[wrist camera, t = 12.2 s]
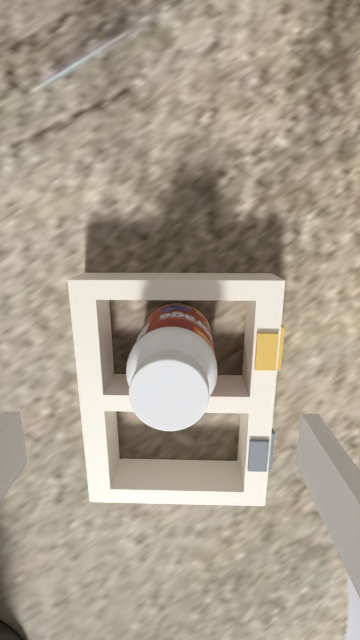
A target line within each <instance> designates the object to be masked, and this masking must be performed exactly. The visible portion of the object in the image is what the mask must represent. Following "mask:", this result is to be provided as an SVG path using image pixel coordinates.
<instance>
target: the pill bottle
mask: <svg viewBox="0 0 360 640" xmlns="http://www.w3.org/2000/svg"><path fill="white" fill-rule="evenodd" d="M126 377H127V382H128V385H129V400H130V404H131V407H132V409H133V411H134V413H135V414H136V415H137V417H138V418H139V419H140V420H141V421H143V422H144V423H145V424H147V425H148V426H150V427H153V428H155V429H158V430H163V431H178V430H182V429H185V428H187V427H190V426H191V425H193V424H194V423H196V422H197V421H198V420H199V419H200V418H201V417H202V416H203V414H204V413H205V411H206V409H207V406H208V402H209V397H210V395H211V394H212V392H213V390H214V388H215V385H216V381H217V362H216V356H215V351H214V346H213V339H212V333H211V329H210V326H209V323H208V321H207V320H206V318H205V317H204V315H203V314H202V313H201V312H199V311H198V310H197V309H195V308H193V307H191V306H189V305H186V304H179V303H175V304H168V305H164V306H162V307H160V308H158V309H157V310H155V311H154V312H153V313H152V314H151V315H150V316H149V317H148V319H147V320H146V322H145V324H144V326H143V328H142V330H141V332H140V334H139V336H138V338H137V340H136V342H135V344H134V346H133V348H132V350H131V352H130V355H129V357H128V360H127V365H126Z"/></svg>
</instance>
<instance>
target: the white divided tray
mask: <svg viewBox="0 0 360 640" xmlns="http://www.w3.org/2000/svg"><path fill="white" fill-rule="evenodd" d="M68 289H69V299H70V309H71V319H72V329H73V339H74V349H75V359H76V369H77V379H78V389H79V399H80V410H81V420H82V430H83V440H84V450H85V460H86V470H87V480H88V490H89V500H90V502H111V503H154V504H197V505H239V506H265V501H266V490H267V479H268V469H272V459H273V448H274V438H275V433H274V431H273V428H272V423H273V412H274V401H275V390H276V378H277V370H281V362H282V352H283V341H284V330H285V327H284V326H283V325H282V324H281V323H282V312H283V300H284V289H285V280H283V279H281V278H280V277H278V276H276V275H274V274H272V273H83V274H80V275H78V276H76V277H73V278H71V279H69V280H68ZM109 300H230V301H246V317H245V335H244V352H243V370H242V375H217V381H216V385H215V388H214V390H213V392H212V394H211V395H210V397H209V402H208V406H207V409H206V411H205V413H240V423H239V440H238V458H237V461H220V460H169V459H120V457H119V441H118V425H117V411H128V412H134V411H133V409H132V407H131V404H130V400H129V385H128V382H127V377H126V374H114V363H113V347H112V332H111V316H110V301H109Z"/></svg>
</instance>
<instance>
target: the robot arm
mask: <svg viewBox="0 0 360 640" xmlns="http://www.w3.org/2000/svg"><path fill="white" fill-rule="evenodd" d="M26 463H27V455H26V448H25V441H24V435H23V428H22V421H21V415H20V412H3V413H2V414H1V415H0V501H1V499H2V498H3V497H4V495H5V494H6V492H7V491H8V489H9V488H10V486H11V485H12V483H13V482H14V481H15V479H16V478H17V476H18V475H19V473H20V472H21V470H22V469H23V467H24V466H25V465H26ZM296 466H297V468H298V470H299V472H300V474H301V476H302V478H303V480H304V482H305V484H306V487H307V489H308V491H309V493H310V495H311V497H312V499H313V501H314V503H315V505H316V507H317V510H318V512H319V514H320V516H321V518H322V520H323V522H324V524H325V526H326V528H327V530H328V533H329V535H330V537H331V539H332V541H333V543H334V545H335V547H336V549H337V551H338V553H339V555H340V558H341V560H342V562H343V564H344V566H345V568H346V570H347V572H348V574H349V576H350V578H351V580H352V583H353V585H354V587H355V589H356V591H357V593H358V595H359V597H360V470H359V469H358V468H357V466H356V465H355V464H354V462H353V461H352V459H351V458H350V457H349V455H348V454H347V453H346V451H345V450H344V449H343V447H342V446H341V444H340V443H339V442H338V440H337V439H336V438H335V436H334V435H333V434H332V432H331V431H330V429H329V428H328V427H327V425H326V424H325V423H324V421H323V420H322V419H321V417H320V416H319V415H318V414H301V422H300V431H299V440H298V449H297V458H296ZM0 640H21V639H20V637H19V636H18V635H17V634H16V633H15V632H14V631H13V630H11V629H10V628H9V627H7V626H6V625H4V624H3V623H1V622H0Z"/></svg>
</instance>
